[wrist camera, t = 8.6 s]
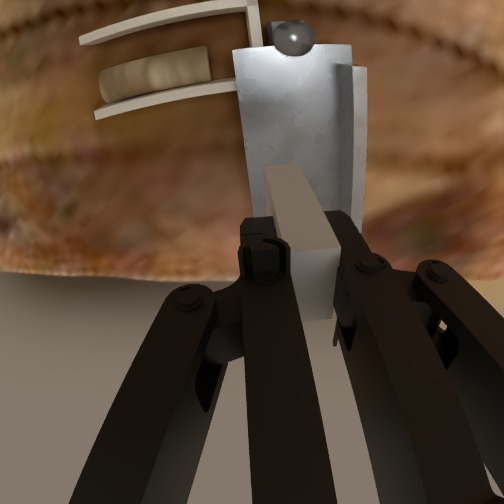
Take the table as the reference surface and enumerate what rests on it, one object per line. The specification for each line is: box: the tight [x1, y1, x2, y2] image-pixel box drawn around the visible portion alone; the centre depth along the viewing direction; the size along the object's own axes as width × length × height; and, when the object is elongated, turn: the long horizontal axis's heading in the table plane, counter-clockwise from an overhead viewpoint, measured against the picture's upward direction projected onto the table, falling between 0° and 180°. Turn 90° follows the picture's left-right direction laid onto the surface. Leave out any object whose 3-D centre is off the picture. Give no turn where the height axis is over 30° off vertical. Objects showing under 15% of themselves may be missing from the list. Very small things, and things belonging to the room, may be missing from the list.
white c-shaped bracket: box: [79, 0, 304, 120], centre depth 21 cm, size 8×17×4 cm, turn 96°
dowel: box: [99, 45, 212, 103], centre depth 22 cm, size 9×3×3 cm
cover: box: [232, 20, 367, 234], centre depth 22 cm, size 9×18×4 cm, turn 6°
